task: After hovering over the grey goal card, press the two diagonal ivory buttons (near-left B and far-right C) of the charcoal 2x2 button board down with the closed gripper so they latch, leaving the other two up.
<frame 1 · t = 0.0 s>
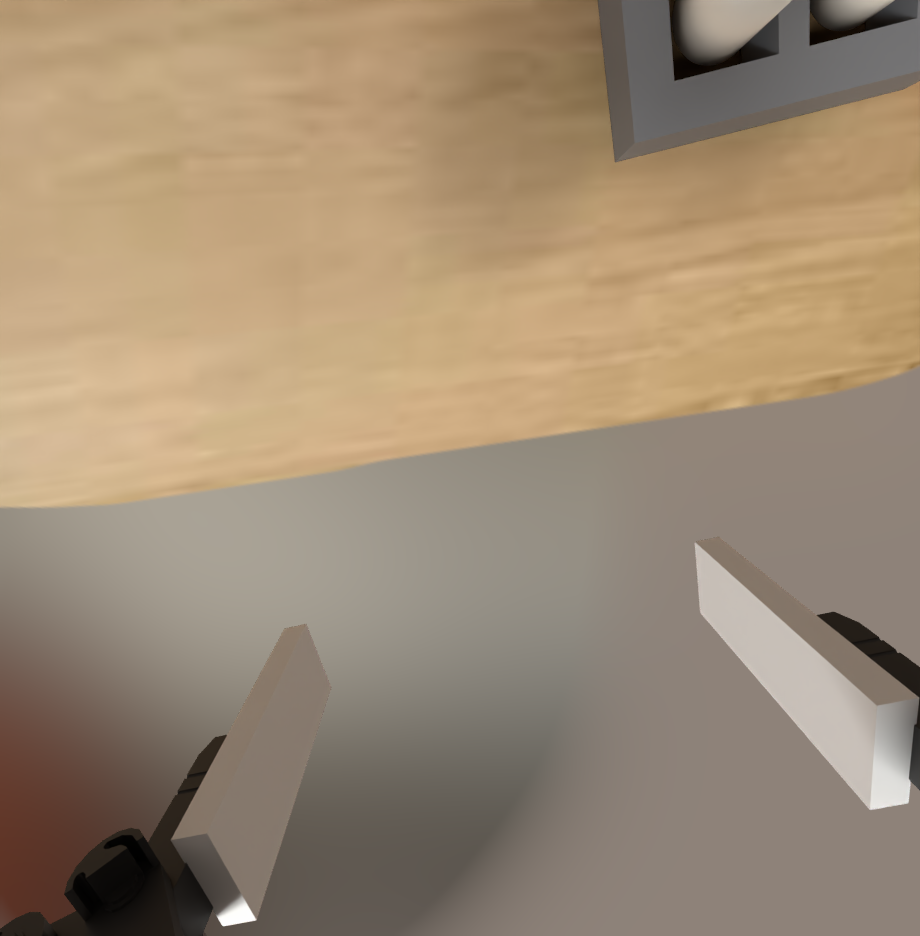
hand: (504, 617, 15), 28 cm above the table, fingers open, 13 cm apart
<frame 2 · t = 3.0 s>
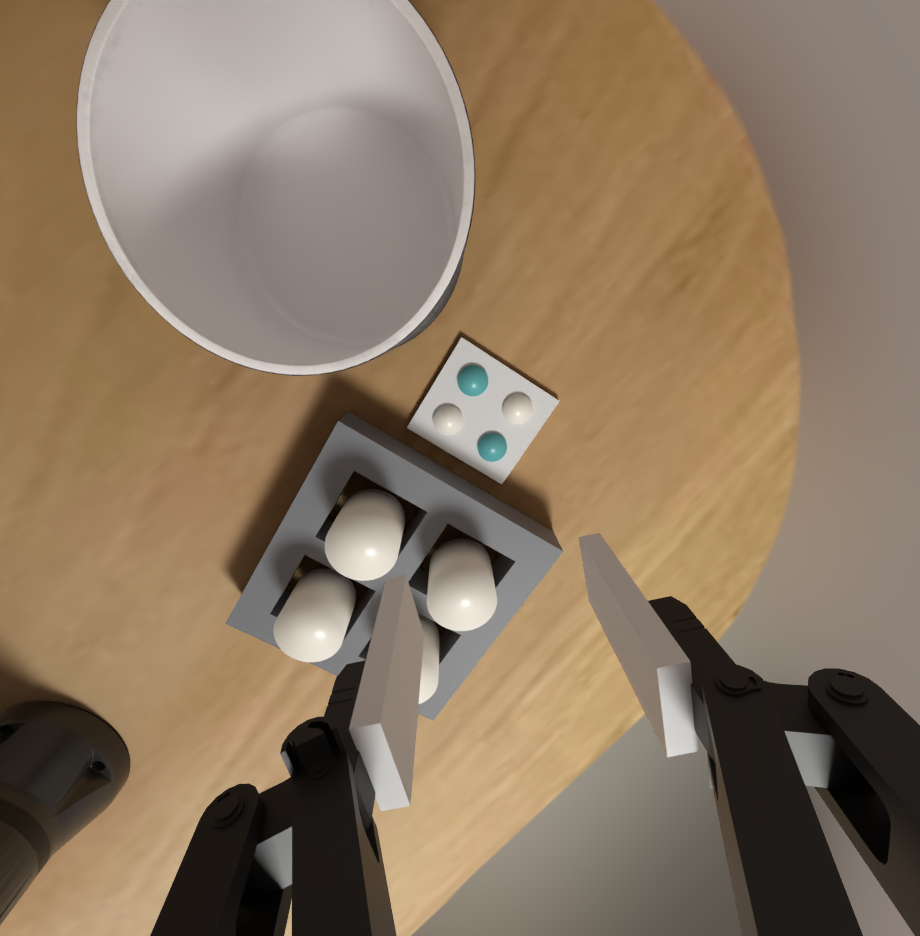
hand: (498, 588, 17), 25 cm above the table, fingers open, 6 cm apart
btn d: (461, 582, 39), point 6 cm above the table, slide at 0.0 cm
goal card: (482, 413, 40), on the table
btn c: (408, 657, 41), point 6 cm above the table, slide at 0.0 cm
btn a: (317, 613, 40), point 6 cm above the table, slide at 0.0 cm
btn b: (367, 532, 37), point 6 cm above the table, slide at 0.0 cm
board: (396, 565, 45), on the table
planter: (351, 238, 36), on the table
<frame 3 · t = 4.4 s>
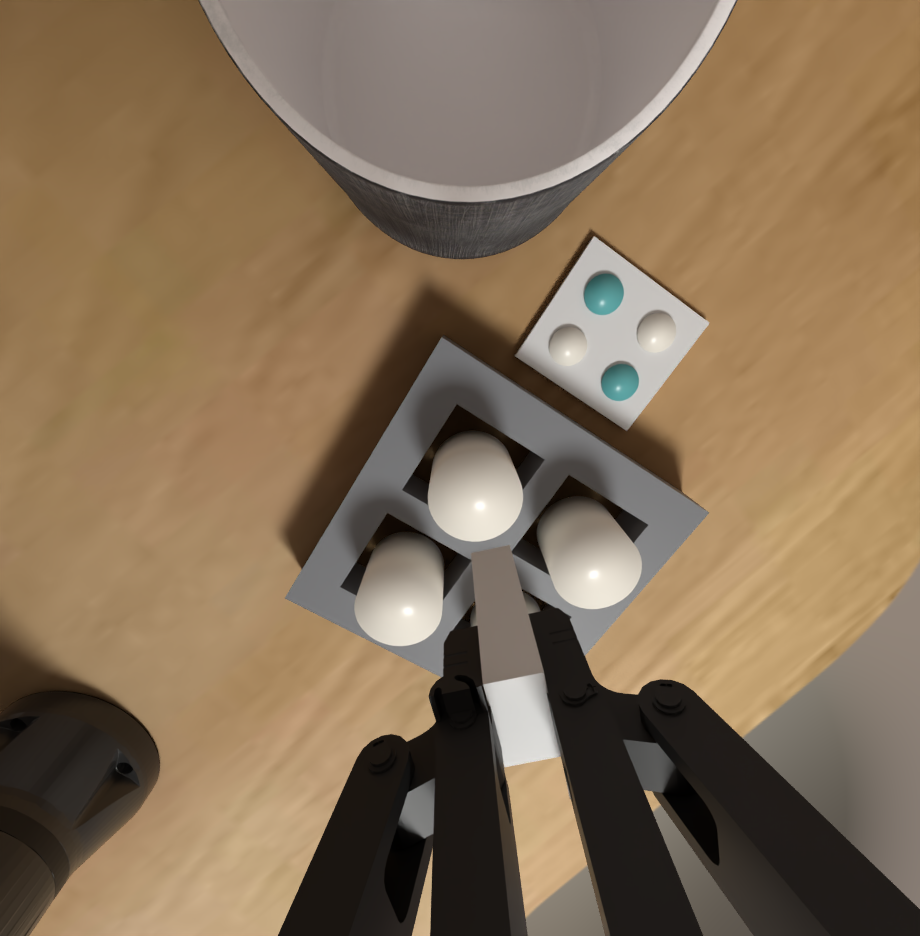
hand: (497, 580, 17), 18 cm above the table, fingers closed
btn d: (584, 549, 31), point 6 cm above the table, slide at 0.0 cm
goal card: (609, 339, 32), on the table
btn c: (509, 642, 33), point 6 cm above the table, slide at 0.0 cm
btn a: (403, 585, 32), point 6 cm above the table, slide at 0.0 cm
btn b: (473, 482, 29), point 6 cm above the table, slide at 0.0 cm
board: (487, 532, 37), on the table
planter: (461, 102, 28), on the table
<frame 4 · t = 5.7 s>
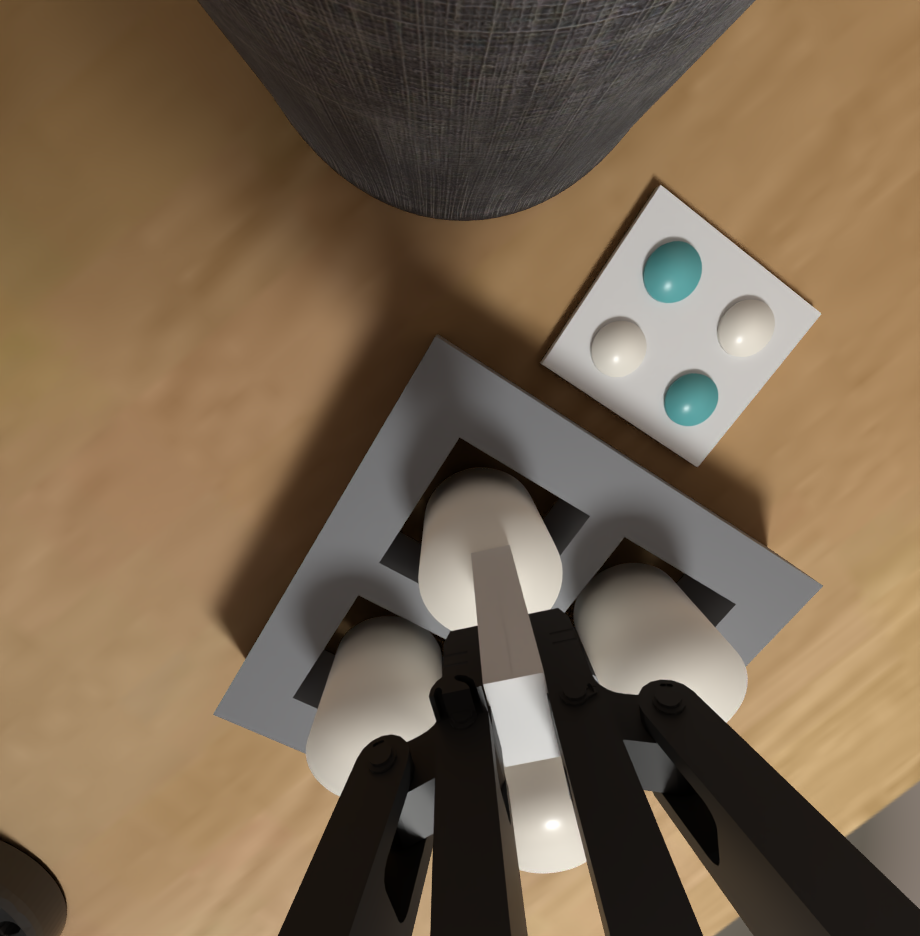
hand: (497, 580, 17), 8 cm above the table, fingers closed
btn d: (649, 646, 21), point 6 cm above the table, slide at 0.0 cm
goal card: (675, 338, 22), on the table
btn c: (538, 773, 23), point 6 cm above the table, slide at 0.0 cm
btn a: (382, 702, 22), point 6 cm above the table, slide at 0.0 cm
btn b: (484, 545, 20), point 5 cm above the table, slide at 0.9 cm, touching gripper
board: (500, 604, 27), on the table
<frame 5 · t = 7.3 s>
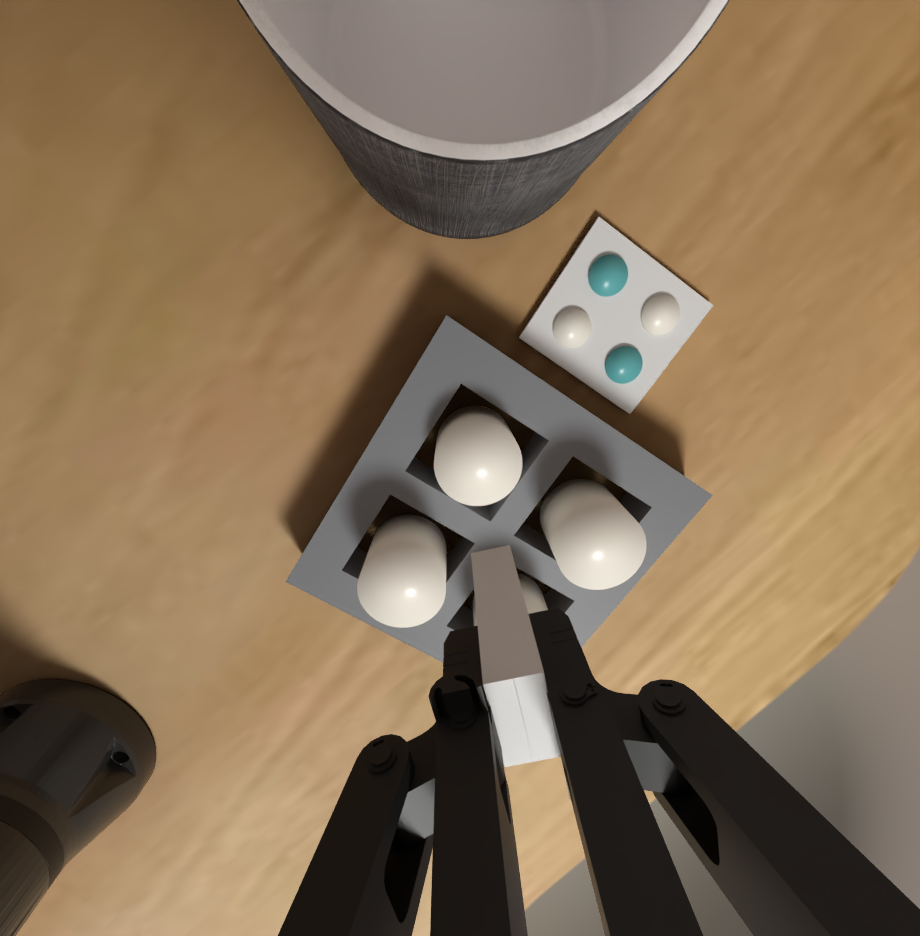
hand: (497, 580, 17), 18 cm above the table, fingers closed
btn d: (588, 531, 31), point 6 cm above the table, slide at 0.0 cm
goal card: (613, 321, 32), on the table
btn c: (512, 626, 33), point 6 cm above the table, slide at 0.0 cm
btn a: (405, 567, 32), point 6 cm above the table, slide at 0.0 cm
btn b: (475, 453, 31), point 3 cm above the table, slide at 2.3 cm
board: (489, 516, 37), on the table
planter: (467, 79, 28), on the table
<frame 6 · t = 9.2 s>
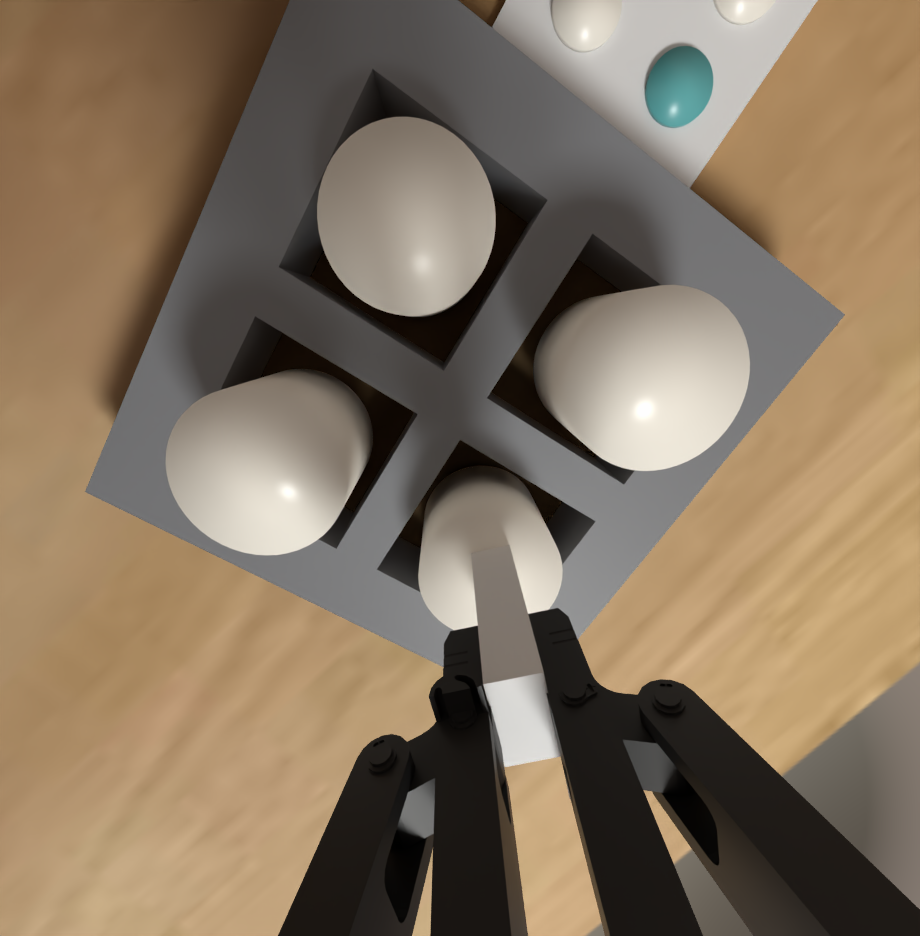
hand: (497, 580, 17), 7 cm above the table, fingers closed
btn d: (624, 373, 17), point 6 cm above the table, slide at 0.0 cm
goal card: (659, 5, 18), on the table
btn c: (484, 544, 20), point 4 cm above the table, slide at 1.7 cm
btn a: (286, 452, 17), point 6 cm above the table, slide at 0.0 cm
btn b: (412, 237, 17), point 3 cm above the table, slide at 2.3 cm
board: (451, 391, 22), on the table
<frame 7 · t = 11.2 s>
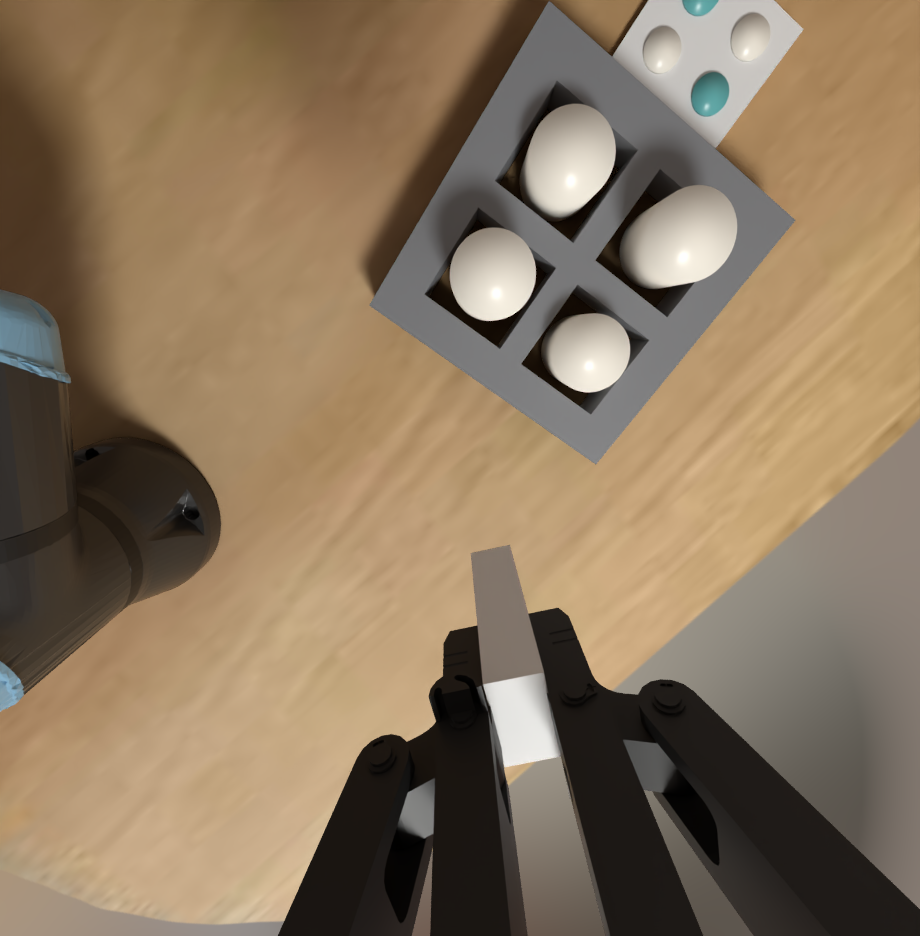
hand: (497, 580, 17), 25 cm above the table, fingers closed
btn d: (673, 242, 32), point 6 cm above the table, slide at 0.0 cm
goal card: (701, 49, 33), on the table
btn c: (582, 351, 36), point 3 cm above the table, slide at 2.3 cm
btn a: (490, 279, 32), point 6 cm above the table, slide at 0.0 cm
btn b: (563, 168, 32), point 3 cm above the table, slide at 2.3 cm
board: (564, 270, 37), on the table
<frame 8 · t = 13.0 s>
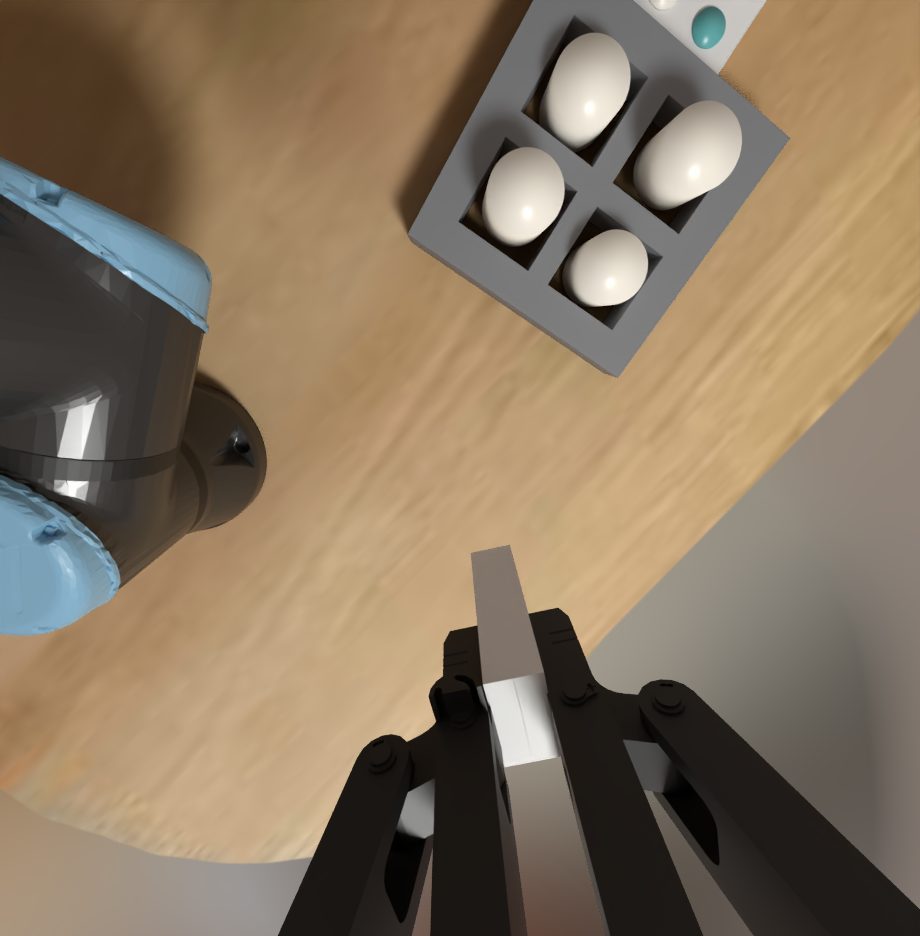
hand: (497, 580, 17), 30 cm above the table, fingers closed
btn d: (683, 160, 35), point 6 cm above the table, slide at 0.0 cm
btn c: (602, 271, 39), point 3 cm above the table, slide at 2.3 cm
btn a: (520, 201, 36), point 6 cm above the table, slide at 0.0 cm
btn b: (581, 98, 36), point 3 cm above the table, slide at 2.3 cm
board: (581, 199, 41), on the table
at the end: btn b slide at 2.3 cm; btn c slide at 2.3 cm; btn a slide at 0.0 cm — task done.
